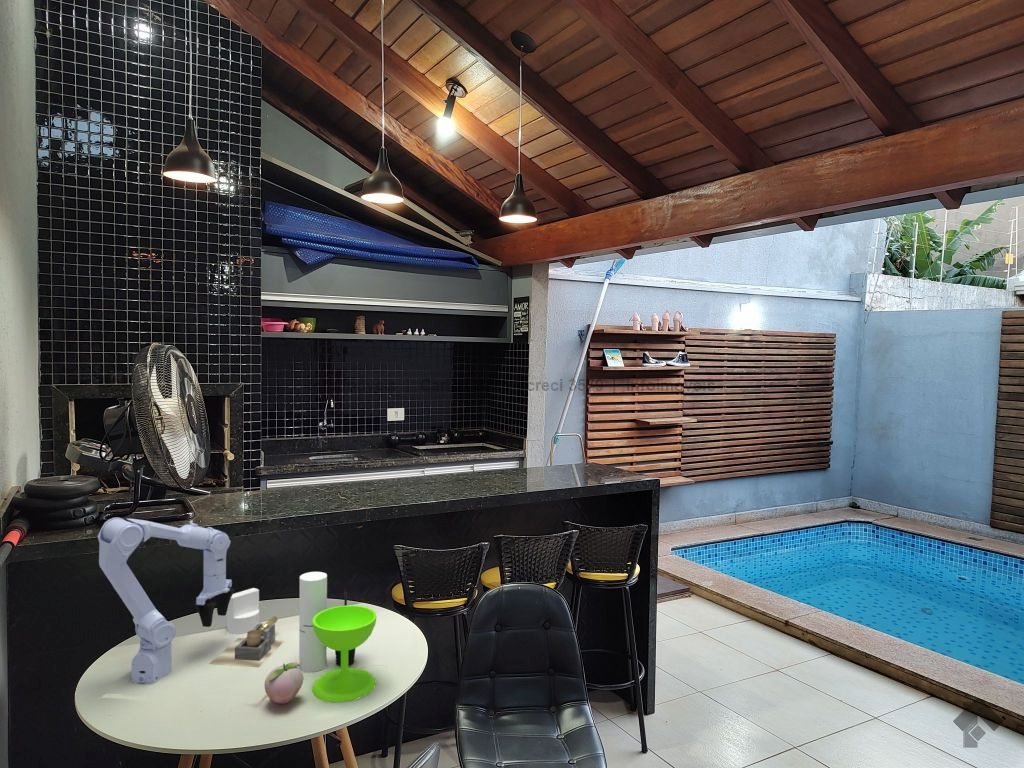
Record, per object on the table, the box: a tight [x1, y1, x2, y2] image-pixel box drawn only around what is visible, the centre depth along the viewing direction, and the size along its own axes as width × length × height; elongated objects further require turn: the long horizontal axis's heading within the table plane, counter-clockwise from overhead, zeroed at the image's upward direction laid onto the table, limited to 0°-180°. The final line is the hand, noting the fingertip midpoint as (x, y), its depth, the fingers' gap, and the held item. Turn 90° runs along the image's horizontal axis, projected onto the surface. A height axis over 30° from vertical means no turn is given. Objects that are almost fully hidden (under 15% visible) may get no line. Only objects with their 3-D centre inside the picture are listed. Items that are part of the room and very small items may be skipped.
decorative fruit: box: [264, 662, 305, 705], centre depth 161 cm, size 9×8×10 cm
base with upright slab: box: [226, 587, 260, 635], centre depth 200 cm, size 9×9×12 cm
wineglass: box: [311, 604, 377, 703], centre depth 169 cm, size 16×16×18 cm
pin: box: [258, 616, 278, 635], centre depth 192 cm, size 9×2×2 cm, turn 175°
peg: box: [246, 630, 261, 647], centre depth 183 cm, size 4×4×6 cm
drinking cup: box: [334, 590, 356, 667], centre depth 182 cm, size 8×8×20 cm
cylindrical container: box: [298, 571, 328, 673], centre depth 179 cm, size 7×7×25 cm
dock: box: [208, 622, 285, 668], centre depth 184 cm, size 16×14×6 cm
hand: (214, 620), depth 184 cm, fingers open, 7 cm apart
